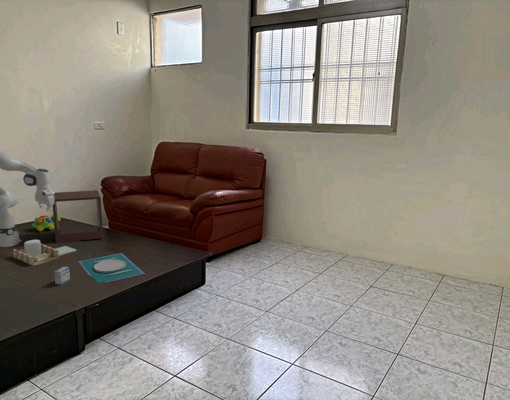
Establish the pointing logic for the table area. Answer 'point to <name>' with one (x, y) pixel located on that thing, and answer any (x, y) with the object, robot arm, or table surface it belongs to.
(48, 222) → the turtle toy
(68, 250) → the sage board
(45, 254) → the birch offcut
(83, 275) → the table surface
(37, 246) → the photo printer
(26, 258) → the frame
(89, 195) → the storage cube
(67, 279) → the medicine box
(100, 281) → the place mat
